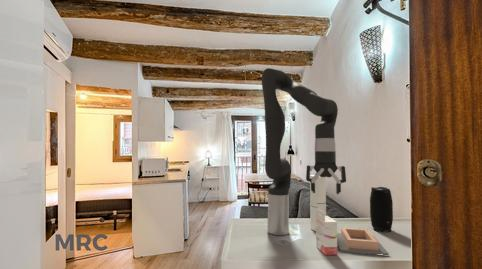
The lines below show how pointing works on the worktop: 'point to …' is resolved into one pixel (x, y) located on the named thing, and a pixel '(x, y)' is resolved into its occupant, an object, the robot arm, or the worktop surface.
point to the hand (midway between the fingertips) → (325, 193)
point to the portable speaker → (381, 209)
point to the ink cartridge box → (326, 234)
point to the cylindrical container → (317, 200)
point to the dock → (359, 242)
